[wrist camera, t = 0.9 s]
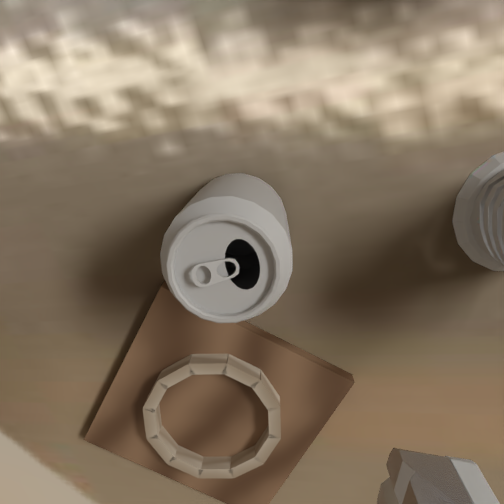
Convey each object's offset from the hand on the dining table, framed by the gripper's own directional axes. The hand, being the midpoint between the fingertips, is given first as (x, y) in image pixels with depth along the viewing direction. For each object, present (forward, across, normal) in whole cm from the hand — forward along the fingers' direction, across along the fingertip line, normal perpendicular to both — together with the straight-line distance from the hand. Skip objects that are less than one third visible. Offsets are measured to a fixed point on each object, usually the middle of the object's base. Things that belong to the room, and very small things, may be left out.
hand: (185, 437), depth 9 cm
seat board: (+27, +1, +18) cm, 33 cm away
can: (+27, +2, +1) cm, 27 cm away
